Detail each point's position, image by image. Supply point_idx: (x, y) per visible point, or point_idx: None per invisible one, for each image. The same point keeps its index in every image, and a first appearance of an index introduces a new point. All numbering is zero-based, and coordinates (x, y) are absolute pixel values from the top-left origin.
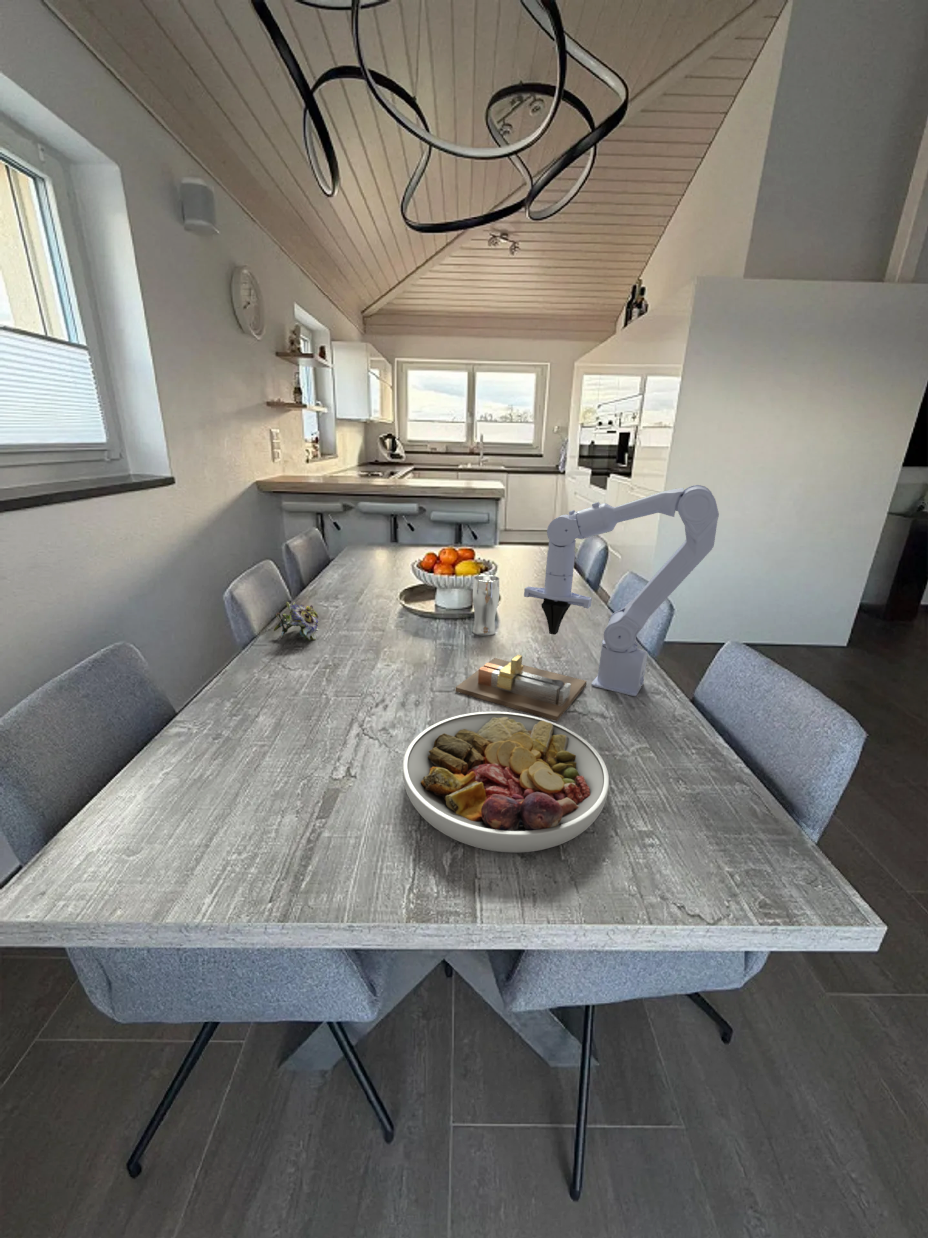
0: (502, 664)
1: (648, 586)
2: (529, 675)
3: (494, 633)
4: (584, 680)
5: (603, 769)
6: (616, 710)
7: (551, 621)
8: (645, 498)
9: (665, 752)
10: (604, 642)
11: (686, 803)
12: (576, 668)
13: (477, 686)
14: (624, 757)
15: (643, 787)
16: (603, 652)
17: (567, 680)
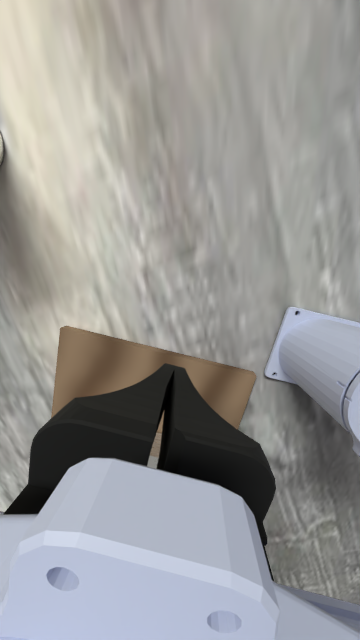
0: (85, 355)
1: None
2: (150, 463)
3: (2, 148)
4: (252, 376)
5: None
6: (302, 443)
7: (152, 444)
8: None
9: (355, 526)
10: (356, 418)
11: (353, 596)
12: (233, 299)
13: None
14: (298, 543)
15: (312, 583)
16: (331, 412)
17: (219, 385)
